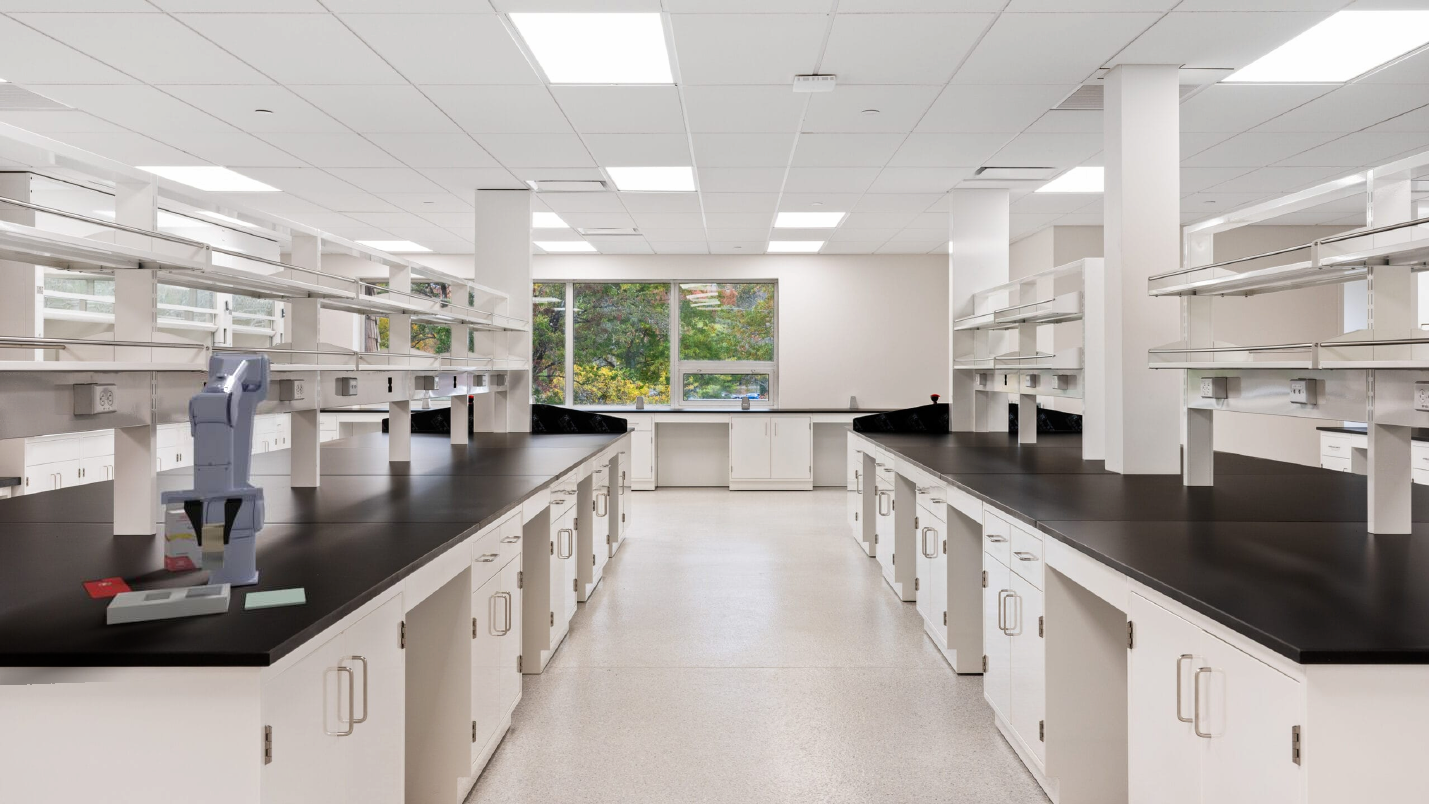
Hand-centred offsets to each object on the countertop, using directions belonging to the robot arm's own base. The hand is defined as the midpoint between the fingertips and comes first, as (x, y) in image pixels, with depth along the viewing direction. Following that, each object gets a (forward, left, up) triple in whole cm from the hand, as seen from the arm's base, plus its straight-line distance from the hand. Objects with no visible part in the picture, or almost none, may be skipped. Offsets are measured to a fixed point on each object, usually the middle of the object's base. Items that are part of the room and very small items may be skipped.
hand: (213, 544), depth 137 cm
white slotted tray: (0, -6, -10) cm, 12 cm away
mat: (0, +9, -10) cm, 14 cm away
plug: (0, 0, -4) cm, 4 cm away
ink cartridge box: (-35, -6, -11) cm, 37 cm away
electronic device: (-22, -18, -11) cm, 30 cm away
